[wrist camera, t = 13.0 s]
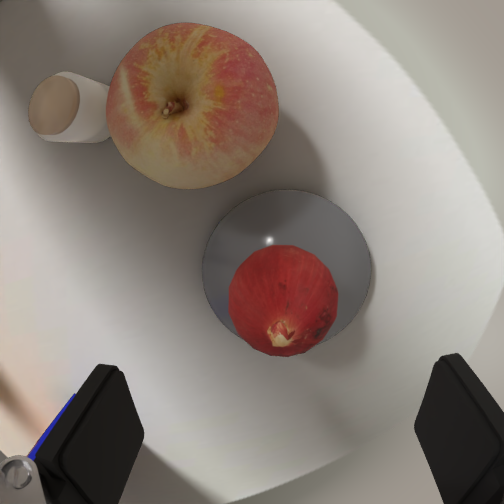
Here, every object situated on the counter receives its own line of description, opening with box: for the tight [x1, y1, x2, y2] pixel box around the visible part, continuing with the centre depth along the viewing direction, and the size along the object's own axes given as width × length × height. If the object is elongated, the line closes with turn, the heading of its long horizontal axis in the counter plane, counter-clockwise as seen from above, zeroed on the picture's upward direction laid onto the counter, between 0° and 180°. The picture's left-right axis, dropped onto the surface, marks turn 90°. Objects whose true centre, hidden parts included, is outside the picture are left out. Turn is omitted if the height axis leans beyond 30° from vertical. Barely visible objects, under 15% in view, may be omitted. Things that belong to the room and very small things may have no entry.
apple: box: [106, 23, 279, 189], centre depth 16 cm, size 9×9×8 cm
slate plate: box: [202, 189, 371, 345], centre depth 21 cm, size 11×11×1 cm
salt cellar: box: [28, 71, 111, 143], centre depth 17 cm, size 4×4×6 cm
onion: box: [228, 245, 338, 357], centre depth 17 cm, size 6×6×8 cm
